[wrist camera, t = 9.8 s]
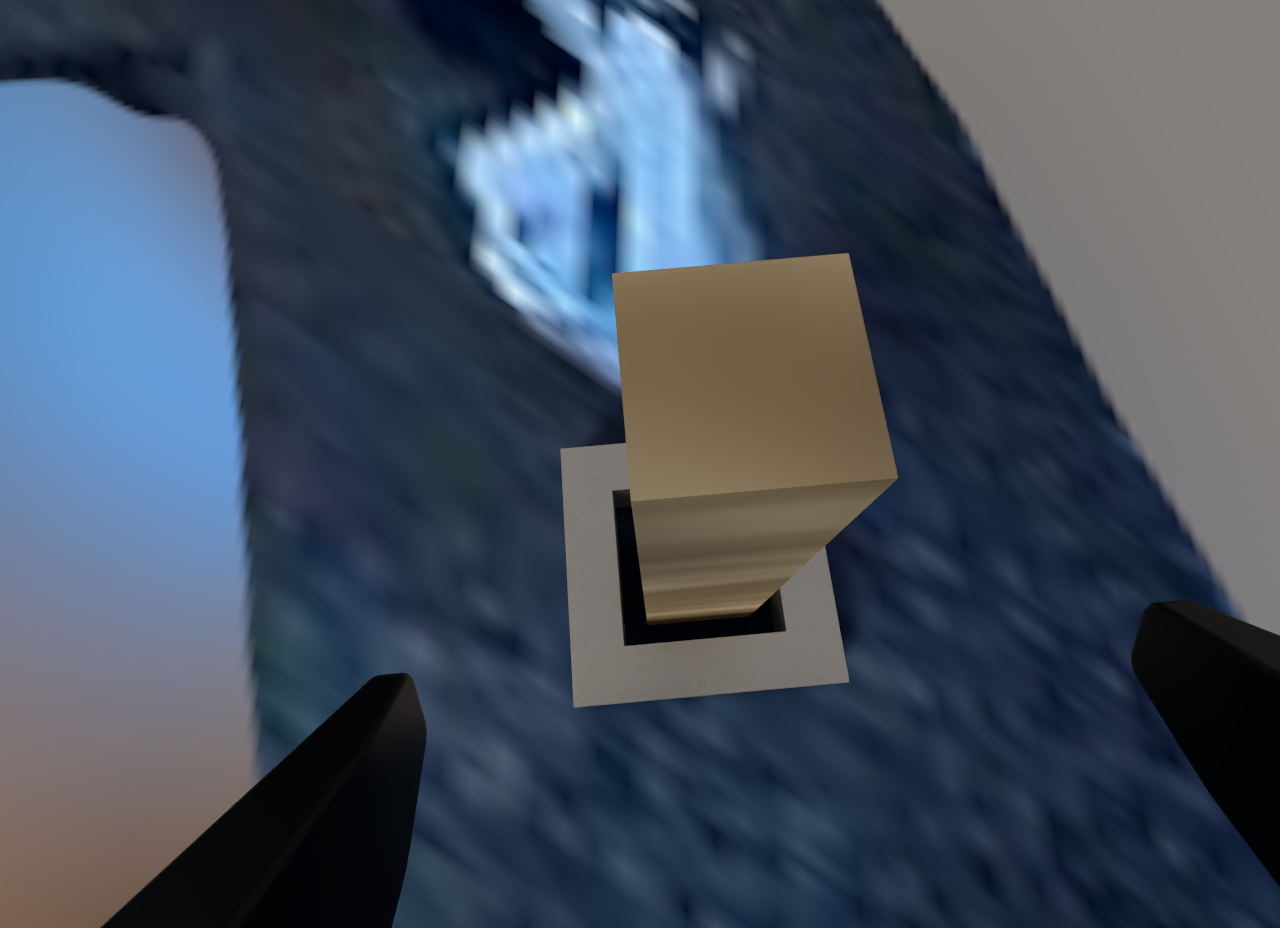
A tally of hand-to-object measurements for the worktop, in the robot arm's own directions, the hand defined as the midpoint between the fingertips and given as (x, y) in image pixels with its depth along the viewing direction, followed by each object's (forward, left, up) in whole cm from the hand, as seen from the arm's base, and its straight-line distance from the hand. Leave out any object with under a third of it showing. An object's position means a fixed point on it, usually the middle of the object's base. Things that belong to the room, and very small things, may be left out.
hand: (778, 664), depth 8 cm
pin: (+4, 0, -13) cm, 14 cm away
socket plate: (+3, 0, -13) cm, 13 cm away
